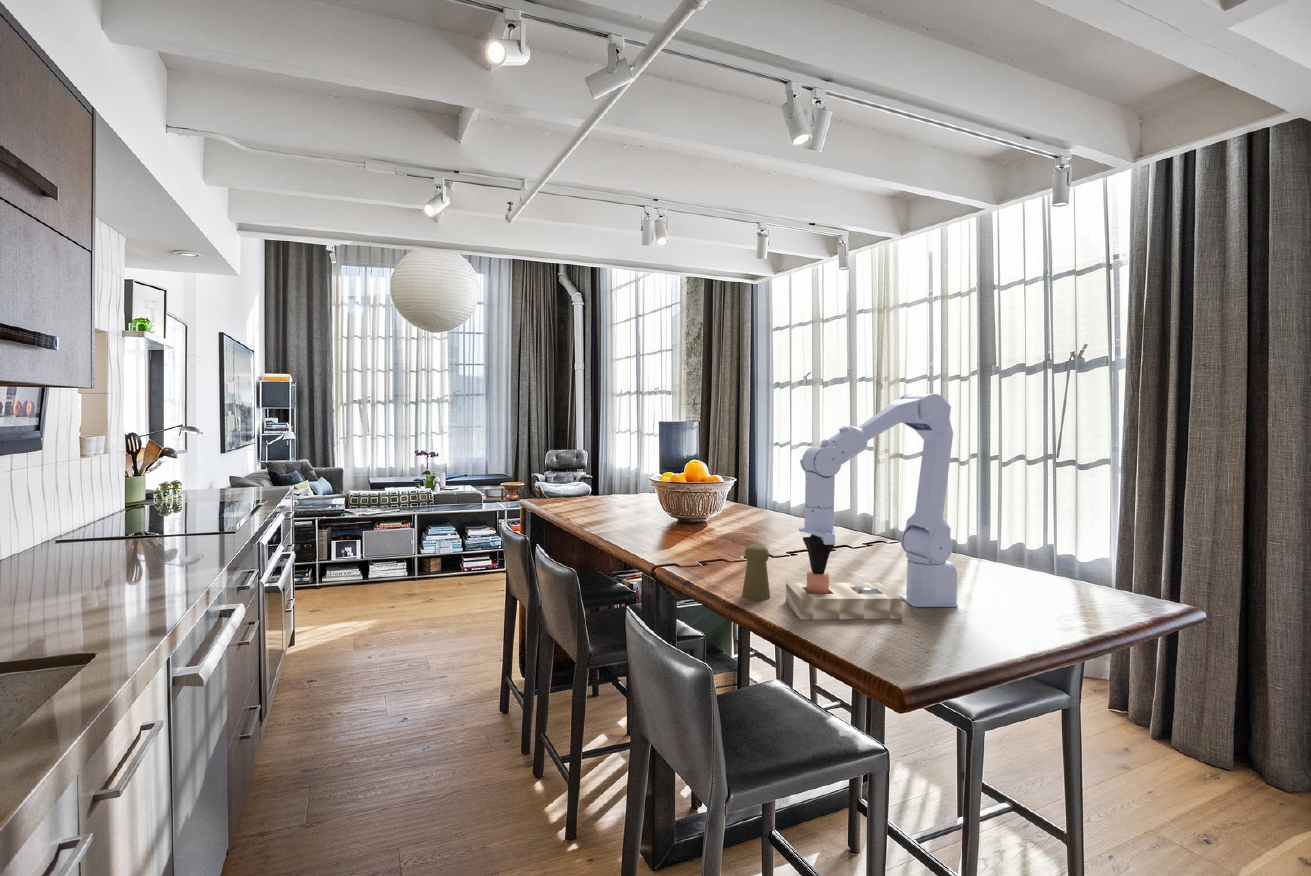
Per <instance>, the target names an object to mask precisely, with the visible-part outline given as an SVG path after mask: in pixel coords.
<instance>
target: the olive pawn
mask: <svg viewBox="0 0 1311 876" xmlns="http://www.w3.org/2000/svg"><path fill="white" fill-rule="evenodd" d="M744 557H745V558H744V559H745V560H746V566H745V574H744V580H743V581H744V582H743V588H742V593H741V595H742V596H741V597H742V598H744V599H746V600H750V601H766V600H769V599H771V592H770V583H769V576H768V573H769V572H768V567H767V561H768V560H769V559H770V558H769V557H770V551H769V550H768V547H766V546H764V545H757V544H755V545H749V546H747V547H746V548H745V551H744Z"/></svg>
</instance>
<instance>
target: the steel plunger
mask: <svg viewBox="0 0 1311 876" xmlns="http://www.w3.org/2000/svg"><path fill="white" fill-rule="evenodd" d="M855 592H856V593H858V594H877V593H878V589H877V588H876V587H873V586H868V585H858V586H855Z"/></svg>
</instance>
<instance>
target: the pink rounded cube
mask: <svg viewBox="0 0 1311 876" xmlns="http://www.w3.org/2000/svg"><path fill="white" fill-rule="evenodd" d="M806 583H807V593H808V594H829V583H830V573H829V572H827V571H825V572H824V574H814V573H812V570H808V571H807V572H806Z"/></svg>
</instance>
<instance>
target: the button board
mask: <svg viewBox="0 0 1311 876" xmlns="http://www.w3.org/2000/svg"><path fill="white" fill-rule="evenodd" d="M858 585H868V586H873V587H876V588H877V589H878V593H877V594H858V593H856V592H855V586H858ZM785 603H786V604H787V605H788V606H789V607H790V608H791V610H792V611H793V612H794V613H795V614H796V615H797V617H798V618H799V619H800V620H903V599H902V598H901V597H900V596H899V594H896V593H895V592H894V591H892V590H891V589H889V588H888V587H886V586H885V585H883V583H881V582H829V594H808V593H807V582H785Z"/></svg>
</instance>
